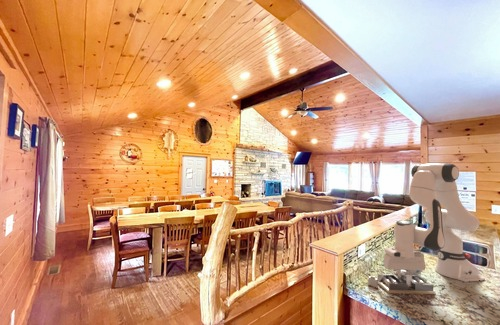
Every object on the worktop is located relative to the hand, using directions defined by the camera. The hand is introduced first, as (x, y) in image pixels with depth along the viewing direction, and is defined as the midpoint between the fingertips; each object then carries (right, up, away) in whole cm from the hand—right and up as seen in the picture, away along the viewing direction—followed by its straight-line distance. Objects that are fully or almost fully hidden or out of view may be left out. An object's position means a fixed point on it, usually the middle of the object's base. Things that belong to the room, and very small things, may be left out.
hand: (404, 277), depth 114 cm
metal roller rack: (0, -5, 0) cm, 5 cm away
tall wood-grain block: (0, -3, 0) cm, 3 cm away
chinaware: (+13, -6, +15) cm, 21 cm away
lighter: (-15, -5, 0) cm, 16 cm away
